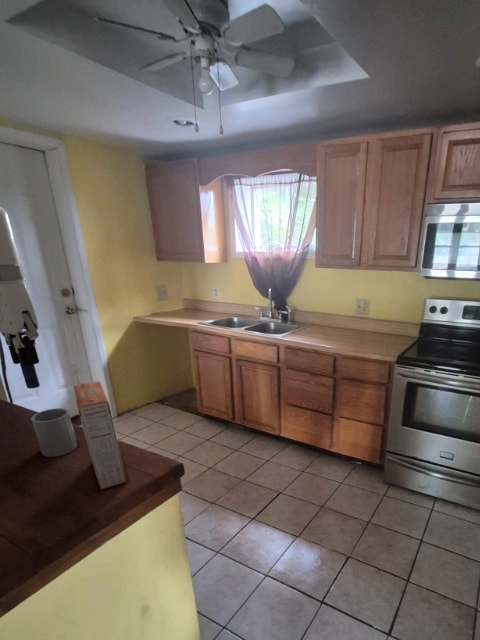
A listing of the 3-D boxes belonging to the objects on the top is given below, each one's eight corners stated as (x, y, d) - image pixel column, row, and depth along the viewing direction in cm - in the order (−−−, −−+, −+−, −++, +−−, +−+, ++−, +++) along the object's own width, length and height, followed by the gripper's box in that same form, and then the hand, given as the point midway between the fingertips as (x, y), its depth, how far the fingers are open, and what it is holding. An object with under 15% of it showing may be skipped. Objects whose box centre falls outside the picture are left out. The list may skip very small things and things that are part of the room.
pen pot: (34, 457, 95) (23, 422, 91) (53, 441, 102) (43, 408, 98) (66, 456, 95) (56, 422, 91) (83, 440, 103) (74, 408, 99)
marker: (24, 388, 81) (9, 339, 77) (31, 384, 83) (17, 336, 79) (35, 388, 81) (21, 339, 77) (42, 384, 84) (29, 336, 79)
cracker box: (92, 462, 93) (72, 384, 85) (118, 455, 96) (101, 379, 88) (98, 491, 82) (76, 406, 74) (127, 483, 85) (109, 400, 77)
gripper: (-44, 273, 73) (-14, 362, 80) (2, 278, 67) (30, 374, 74) (-2, 271, 79) (23, 353, 87) (45, 275, 73) (67, 364, 80)
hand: (26, 362), depth 80 cm, fingers closed on marker, 2 cm apart
